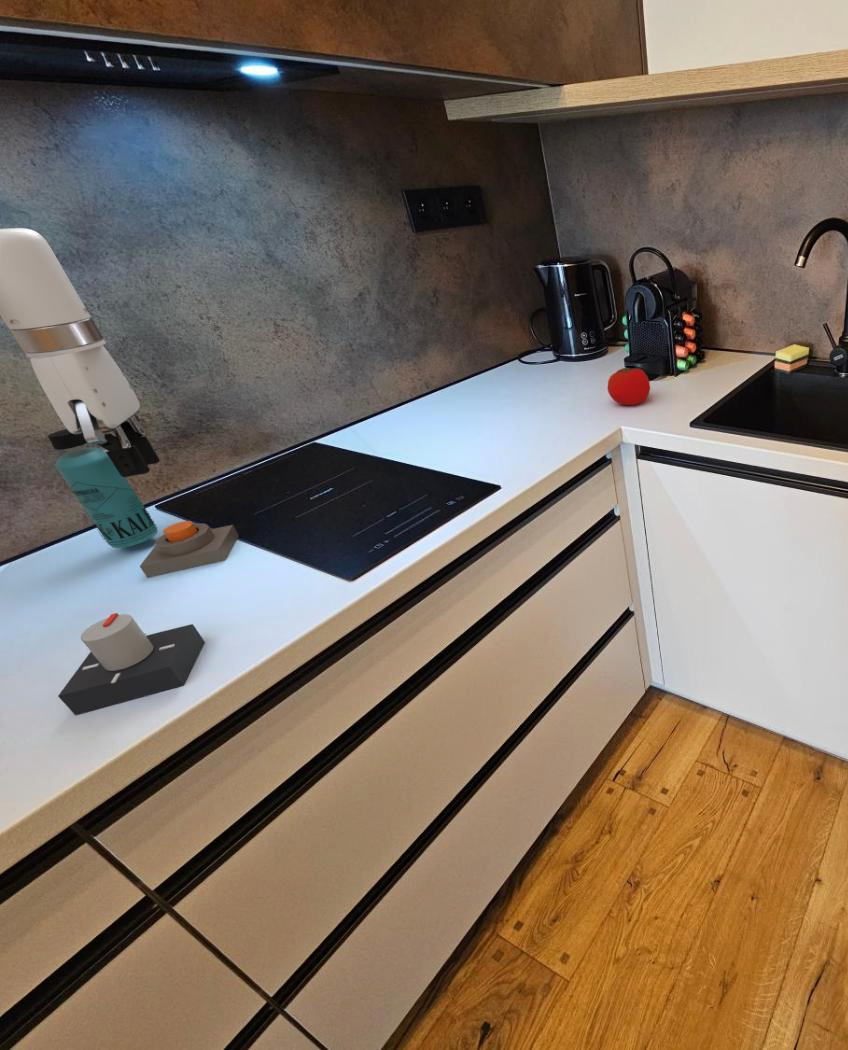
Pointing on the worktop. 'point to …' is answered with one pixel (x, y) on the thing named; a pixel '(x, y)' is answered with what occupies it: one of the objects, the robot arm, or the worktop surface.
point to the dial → (117, 642)
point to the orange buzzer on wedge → (190, 550)
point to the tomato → (629, 386)
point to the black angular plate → (135, 672)
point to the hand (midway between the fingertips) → (141, 468)
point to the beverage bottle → (103, 492)
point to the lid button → (180, 531)
